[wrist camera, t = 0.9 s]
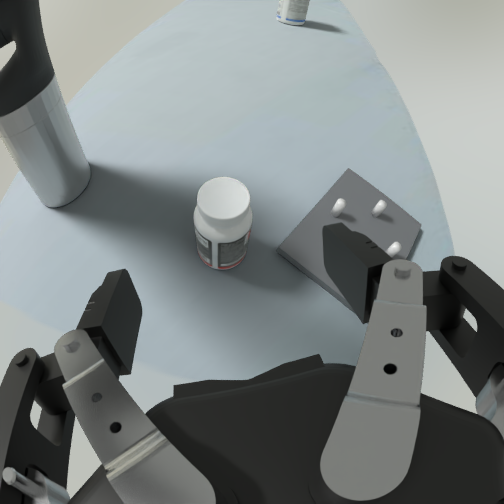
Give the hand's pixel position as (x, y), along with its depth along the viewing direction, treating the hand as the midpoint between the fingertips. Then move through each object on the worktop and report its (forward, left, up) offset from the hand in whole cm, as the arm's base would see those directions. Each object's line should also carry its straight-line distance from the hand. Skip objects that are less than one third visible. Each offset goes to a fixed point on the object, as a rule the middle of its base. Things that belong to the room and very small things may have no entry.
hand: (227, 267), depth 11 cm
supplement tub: (-49, +85, -20) cm, 100 cm away
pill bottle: (-7, +8, -20) cm, 23 cm away
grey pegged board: (+5, +21, -20) cm, 29 cm away
